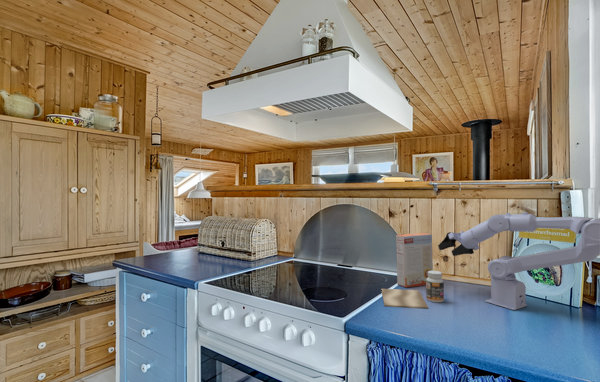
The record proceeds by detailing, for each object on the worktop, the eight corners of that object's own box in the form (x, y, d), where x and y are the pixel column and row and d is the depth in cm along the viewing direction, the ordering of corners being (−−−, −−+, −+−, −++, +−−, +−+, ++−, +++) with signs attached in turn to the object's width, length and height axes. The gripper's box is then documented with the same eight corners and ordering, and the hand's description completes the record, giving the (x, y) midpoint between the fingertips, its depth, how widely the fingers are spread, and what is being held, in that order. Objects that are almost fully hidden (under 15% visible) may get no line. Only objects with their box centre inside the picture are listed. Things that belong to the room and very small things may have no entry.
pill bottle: (433, 303, 109) (433, 274, 109) (423, 298, 115) (422, 270, 115) (447, 302, 111) (447, 273, 111) (436, 296, 116) (436, 269, 116)
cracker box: (423, 280, 137) (423, 232, 137) (433, 284, 131) (433, 234, 131) (396, 284, 132) (395, 234, 132) (405, 288, 127) (404, 235, 127)
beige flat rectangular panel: (418, 291, 122) (418, 290, 122) (428, 308, 104) (428, 307, 104) (381, 289, 125) (381, 288, 125) (384, 306, 107) (384, 304, 107)
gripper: (485, 231, 120) (455, 247, 129) (460, 219, 115) (430, 236, 124) (492, 248, 116) (460, 262, 125) (466, 235, 110) (434, 252, 119)
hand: (446, 250), depth 124 cm, fingers open, 7 cm apart
